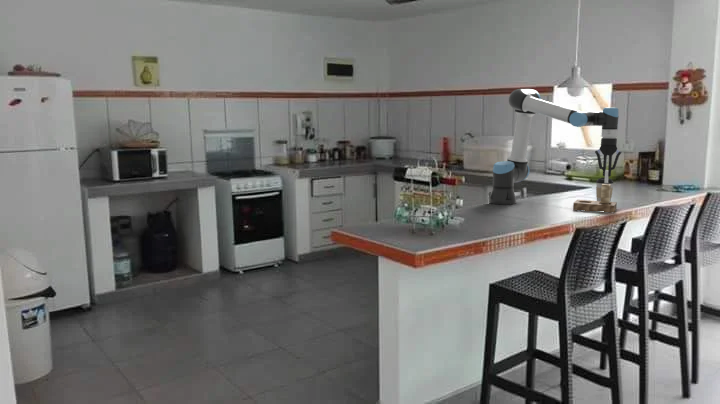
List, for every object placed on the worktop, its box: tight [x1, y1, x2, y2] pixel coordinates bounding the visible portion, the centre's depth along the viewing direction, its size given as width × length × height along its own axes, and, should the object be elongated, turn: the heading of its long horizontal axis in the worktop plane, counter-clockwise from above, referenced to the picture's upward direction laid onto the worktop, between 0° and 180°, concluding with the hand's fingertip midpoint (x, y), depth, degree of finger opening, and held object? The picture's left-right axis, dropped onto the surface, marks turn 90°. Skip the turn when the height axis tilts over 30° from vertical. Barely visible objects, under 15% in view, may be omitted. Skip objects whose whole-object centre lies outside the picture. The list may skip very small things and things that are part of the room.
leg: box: [600, 184, 611, 204], centre depth 307 cm, size 4×4×14 cm
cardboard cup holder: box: [572, 199, 618, 213], centre depth 310 cm, size 20×12×4 cm, turn 61°
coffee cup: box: [595, 177, 615, 202], centre depth 325 cm, size 9×9×15 cm
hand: (606, 182), depth 306 cm, fingers closed
